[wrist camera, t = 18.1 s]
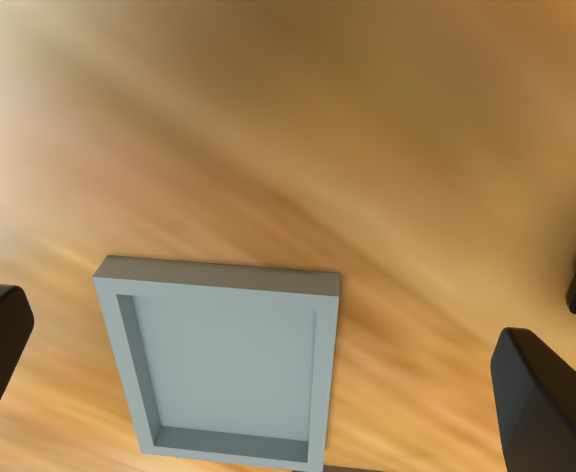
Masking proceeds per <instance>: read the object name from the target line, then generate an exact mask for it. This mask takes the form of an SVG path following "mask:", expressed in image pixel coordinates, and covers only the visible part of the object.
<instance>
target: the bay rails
mask: <svg viewBox="0 0 576 472" xmlns="http://www.w3.org/2000/svg"><path fill="white" fill-rule="evenodd" d="M293 472H304V471H295V470H293ZM323 472H381V471H372V470H363V469H354V468H345V467H336V466H327V465H323Z"/></svg>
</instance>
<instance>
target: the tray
mask: <svg viewBox="0 0 576 472" xmlns="http://www.w3.org/2000/svg"><path fill="white" fill-rule="evenodd" d="M93 281H94V284H95V288H96V292H97V295H98V299H99V302H100V306H101V310H102V313H103V317H104V320H105V324H106V328H107V331H108V335H109V338H110V342H111V346H112V349H113V353H114V356H115V360H116V364H117V367H118V371H119V374H120V378H121V382H122V385H123V389H124V392H125V396H126V400H127V403H128V407H129V410H130V414H131V418H132V421H133V425H134V428H135V432H136V436H137V439H138V443H139V446H140V450H141V453H143V454H152V455H161V456H170V457H179V458H188V459H197V460H206V461H215V462H224V463H233V464H242V465H251V466H260V467H269V468H278V469H286V470H295V471H304V472H323V462H324V452H325V441H326V431H327V420H328V410H329V399H330V389H331V378H332V368H333V357H334V347H335V336H336V326H337V315H338V305H339V289H340V273H328V272H315V271H302V270H289V269H276V268H263V267H250V266H237V265H224V264H211V263H198V262H185V261H172V260H159V259H146V258H133V257H120V256H107V257H106V258H105V260H104V261H103V263H102V264H101V265H100V267H99V268H98V270H97V271H96V272H95V274H94V275H93Z"/></svg>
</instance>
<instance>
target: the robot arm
mask: <svg viewBox="0 0 576 472" xmlns="http://www.w3.org/2000/svg"><path fill="white" fill-rule="evenodd" d="M573 284H574V285H573V287H572V289H571V291H570V294H569V296H568V298H567V301H566V304H567V306H568V308H569V310H570V312H572V313H573V314H576V275H575V277H574V279H573ZM33 326H34V316H33V313H32V310H31V308H30V305H29V303H28V300H27V297H26V295H25V292H24V290H23V289H22V288H21V287H19V286H16V285H4V284H1V285H0V400H1V397H2V395H3V393H4V391H5V389H6V387H7V385H8V383H9V381H10V378H11V376H12V374H13V372H14V370H15V367H16V365H17V363H18V361H19V359H20V356H21V354H22V352H23V350H24V348H25V345H26V343H27V341H28V339H29V337H30V334H31V332H32V330H33ZM491 376H492V383H493V390H494V397H495V404H496V411H497V418H498V424H499V431H500V438H501V444H502V450H503V455H504V459H505V463H506V467H507V471H508V472H576V371H575V370H574V369H572V368H571V367H570V366H569V365H568V364H567V363H566V362H565V361H564V360H563V359H561V358H560V357H559V356H558V355H557V354H556V353H555V352H554V351H553V350H552V349H551V348H549V347H548V346H547V345H546V344H545V343H544V342H543V341H542V340H541V339H540V338H538V337H537V336H536V335H535V334H534V333H533V332H532V331H530V330H528V329H525V328H513V327H507V328H504V329H503V330H502V332H501V334H500V337H499V339H498V342H497V345H496V347H495V350H494V353H493V356H492V359H491Z"/></svg>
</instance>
